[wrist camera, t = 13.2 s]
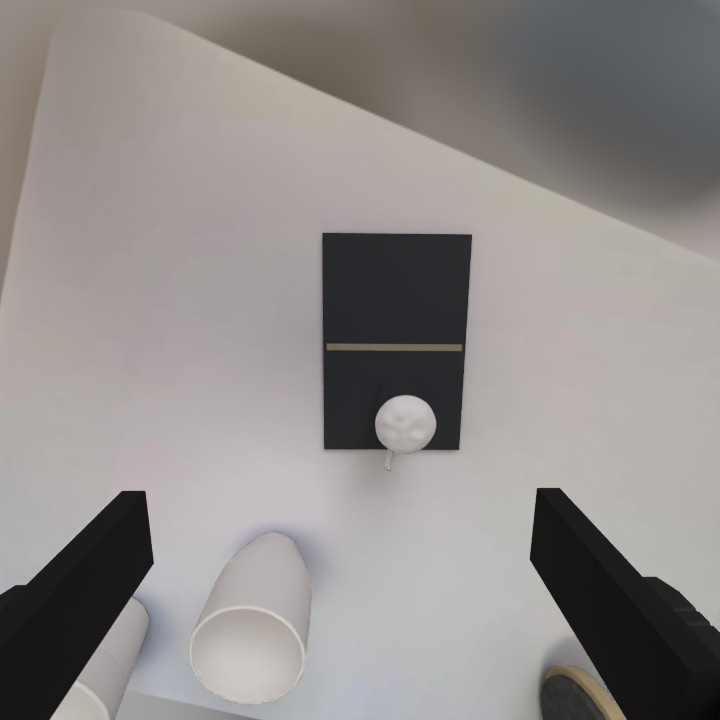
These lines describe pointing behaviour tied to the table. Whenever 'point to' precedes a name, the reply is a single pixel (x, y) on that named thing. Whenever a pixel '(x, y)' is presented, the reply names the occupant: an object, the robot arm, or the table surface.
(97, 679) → the cup
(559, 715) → the desk lamp
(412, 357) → the desk mat
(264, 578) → the mug
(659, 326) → the table surface
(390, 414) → the milkshake
